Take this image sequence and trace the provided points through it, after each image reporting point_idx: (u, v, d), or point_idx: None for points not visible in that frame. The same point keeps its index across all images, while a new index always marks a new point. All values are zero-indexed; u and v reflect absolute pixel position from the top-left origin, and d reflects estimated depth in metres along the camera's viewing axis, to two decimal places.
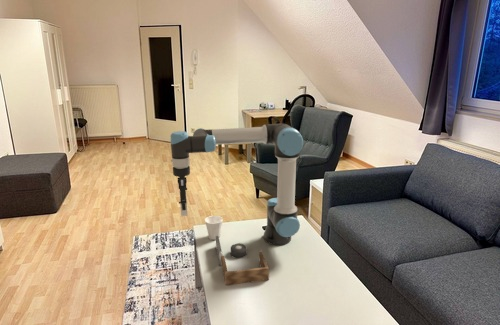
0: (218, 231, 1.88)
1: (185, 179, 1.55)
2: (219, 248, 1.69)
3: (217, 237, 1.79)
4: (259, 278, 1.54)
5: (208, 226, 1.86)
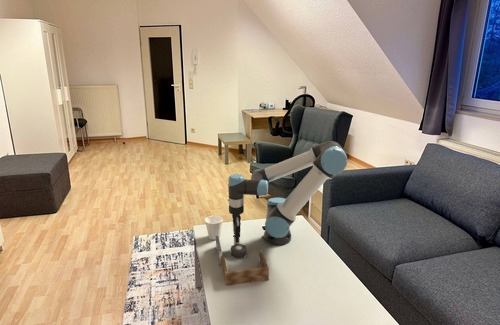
0: (218, 231, 1.88)
1: None
2: (219, 248, 1.69)
3: (217, 237, 1.79)
4: (259, 278, 1.54)
5: (208, 226, 1.86)
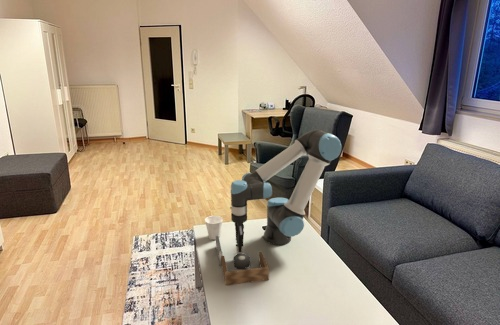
0: (218, 231, 1.88)
1: None
2: (219, 248, 1.69)
3: (217, 237, 1.79)
4: (259, 278, 1.54)
5: (208, 226, 1.86)
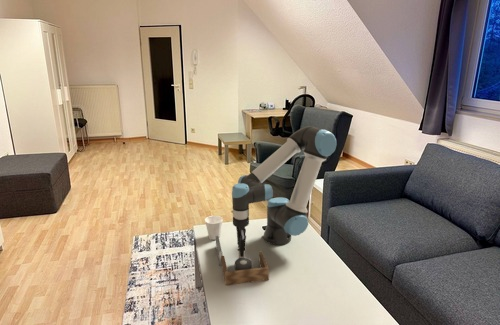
0: (218, 231, 1.88)
1: None
2: (219, 248, 1.69)
3: (217, 237, 1.79)
4: (259, 278, 1.54)
5: (208, 226, 1.86)
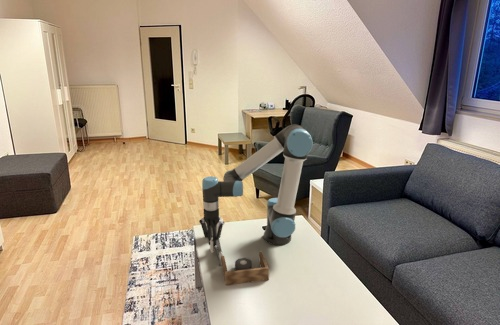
0: None
1: None
2: (219, 248, 1.69)
3: None
4: (259, 278, 1.54)
5: None
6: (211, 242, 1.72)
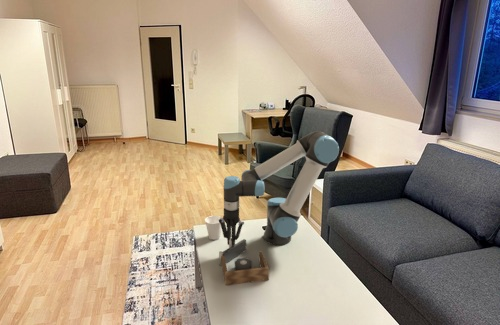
0: (218, 231, 1.88)
1: None
2: (228, 249, 1.68)
3: (243, 240, 1.76)
4: (259, 278, 1.54)
5: (208, 226, 1.86)
6: (230, 242, 1.71)
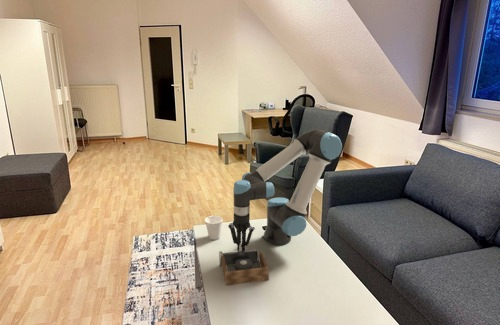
0: (218, 231, 1.88)
1: None
2: (231, 252, 1.65)
3: (253, 250, 1.67)
4: (259, 278, 1.54)
5: (208, 226, 1.86)
6: (240, 248, 1.66)
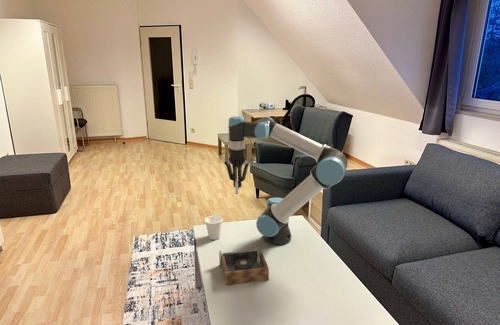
0: (218, 231, 1.88)
1: None
2: (231, 252, 1.65)
3: (253, 250, 1.67)
4: (259, 278, 1.54)
5: (208, 226, 1.86)
6: (236, 183, 1.73)
